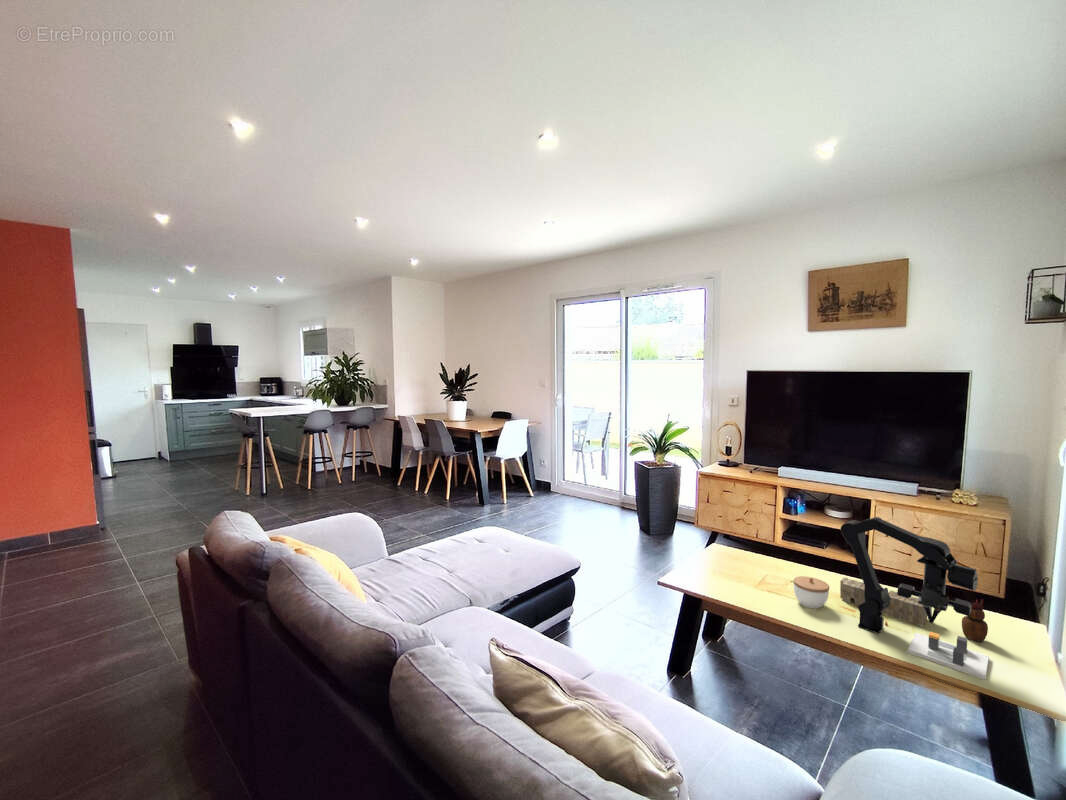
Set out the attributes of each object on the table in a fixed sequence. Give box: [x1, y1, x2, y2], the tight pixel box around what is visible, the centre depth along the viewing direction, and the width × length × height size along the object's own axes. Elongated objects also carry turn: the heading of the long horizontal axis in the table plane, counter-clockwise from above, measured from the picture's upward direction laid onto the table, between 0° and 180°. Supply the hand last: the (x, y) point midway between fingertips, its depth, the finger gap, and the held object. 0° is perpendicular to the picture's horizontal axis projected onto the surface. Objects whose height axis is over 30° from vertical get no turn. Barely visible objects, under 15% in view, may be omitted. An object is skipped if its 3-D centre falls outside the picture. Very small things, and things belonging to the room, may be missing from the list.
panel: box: [907, 632, 990, 680], centre depth 156 cm, size 19×15×5 cm
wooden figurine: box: [961, 598, 989, 642], centre depth 166 cm, size 7×6×15 cm
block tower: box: [839, 576, 928, 627], centre depth 187 cm, size 8×8×29 cm
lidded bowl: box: [793, 575, 830, 610], centre depth 192 cm, size 13×13×11 cm
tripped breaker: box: [928, 631, 941, 650], centre depth 159 cm, size 2×3×4 cm
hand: (931, 622), depth 159 cm, fingers closed
